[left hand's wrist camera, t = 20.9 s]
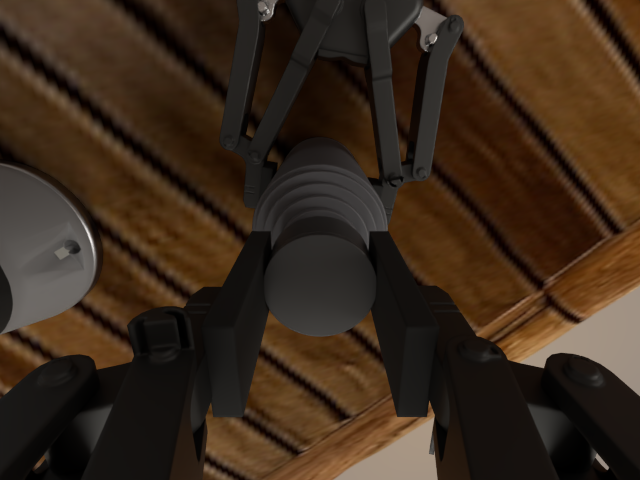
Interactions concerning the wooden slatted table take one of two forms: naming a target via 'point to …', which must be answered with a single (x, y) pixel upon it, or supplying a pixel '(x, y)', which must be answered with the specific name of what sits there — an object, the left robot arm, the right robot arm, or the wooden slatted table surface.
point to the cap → (320, 277)
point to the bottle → (319, 191)
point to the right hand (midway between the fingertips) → (309, 255)
